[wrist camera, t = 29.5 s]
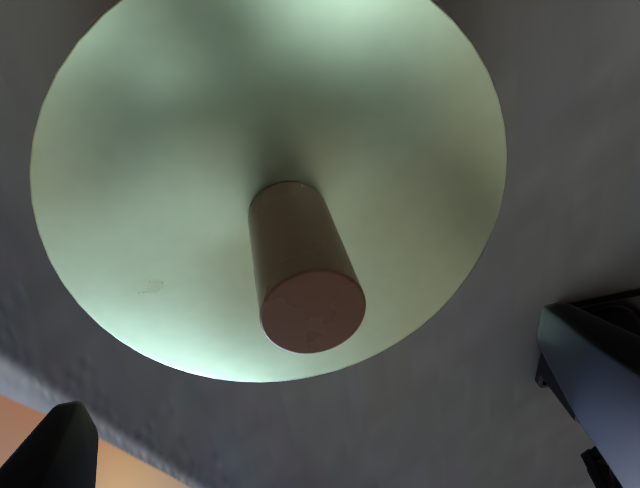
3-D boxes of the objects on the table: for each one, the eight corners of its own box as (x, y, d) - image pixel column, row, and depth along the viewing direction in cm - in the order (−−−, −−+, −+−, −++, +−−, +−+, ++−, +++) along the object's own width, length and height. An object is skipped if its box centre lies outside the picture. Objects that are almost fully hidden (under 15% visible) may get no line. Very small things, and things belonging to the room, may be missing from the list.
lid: (515, -83, 12) (696, -97, 8) (473, 322, 20) (553, 440, 15) (-59, -18, 11) (-259, 14, 6) (127, 392, 19) (99, 546, 14)
